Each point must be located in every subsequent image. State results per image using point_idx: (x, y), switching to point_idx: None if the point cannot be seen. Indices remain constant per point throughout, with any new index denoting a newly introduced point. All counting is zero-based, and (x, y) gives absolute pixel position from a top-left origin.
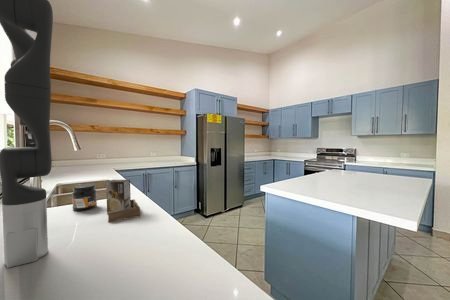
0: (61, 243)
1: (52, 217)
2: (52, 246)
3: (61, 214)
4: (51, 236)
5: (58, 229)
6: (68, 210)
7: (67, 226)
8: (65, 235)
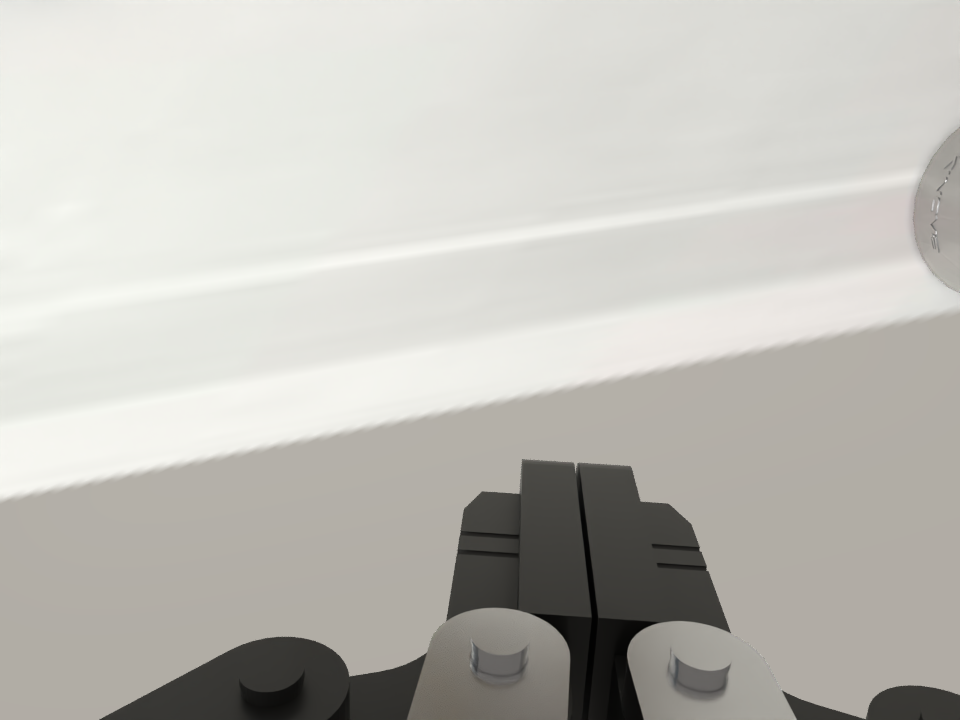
0: (947, 24)
1: (201, 157)
2: (955, 79)
3: (140, 89)
4: (733, 108)
5: (597, 74)
6: (20, 33)
7: (566, 8)
8: (791, 8)
